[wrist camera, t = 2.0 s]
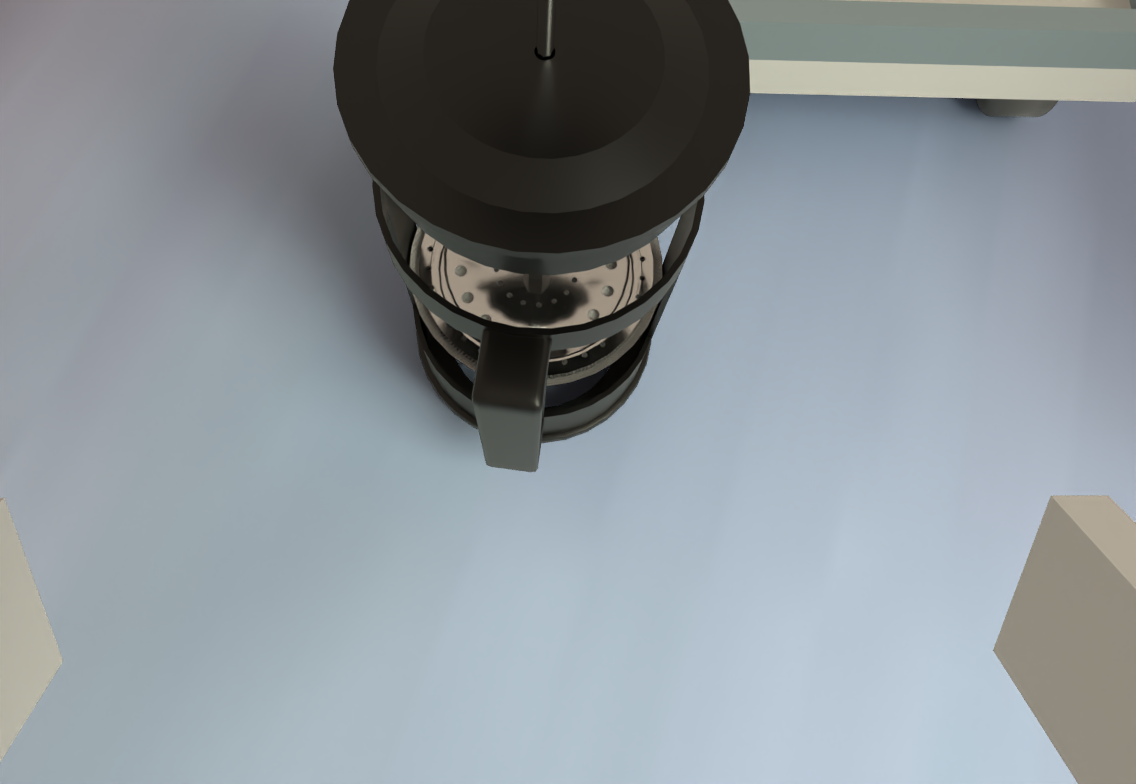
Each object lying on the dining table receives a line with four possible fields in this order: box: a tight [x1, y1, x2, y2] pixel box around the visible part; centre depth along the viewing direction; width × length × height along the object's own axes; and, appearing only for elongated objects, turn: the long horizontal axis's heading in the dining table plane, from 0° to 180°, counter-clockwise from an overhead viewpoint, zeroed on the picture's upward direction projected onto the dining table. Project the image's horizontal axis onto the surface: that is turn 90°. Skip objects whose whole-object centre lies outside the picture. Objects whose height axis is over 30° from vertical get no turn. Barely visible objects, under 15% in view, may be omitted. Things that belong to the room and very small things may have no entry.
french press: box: [333, 0, 750, 472], centre depth 23 cm, size 12×9×23 cm
